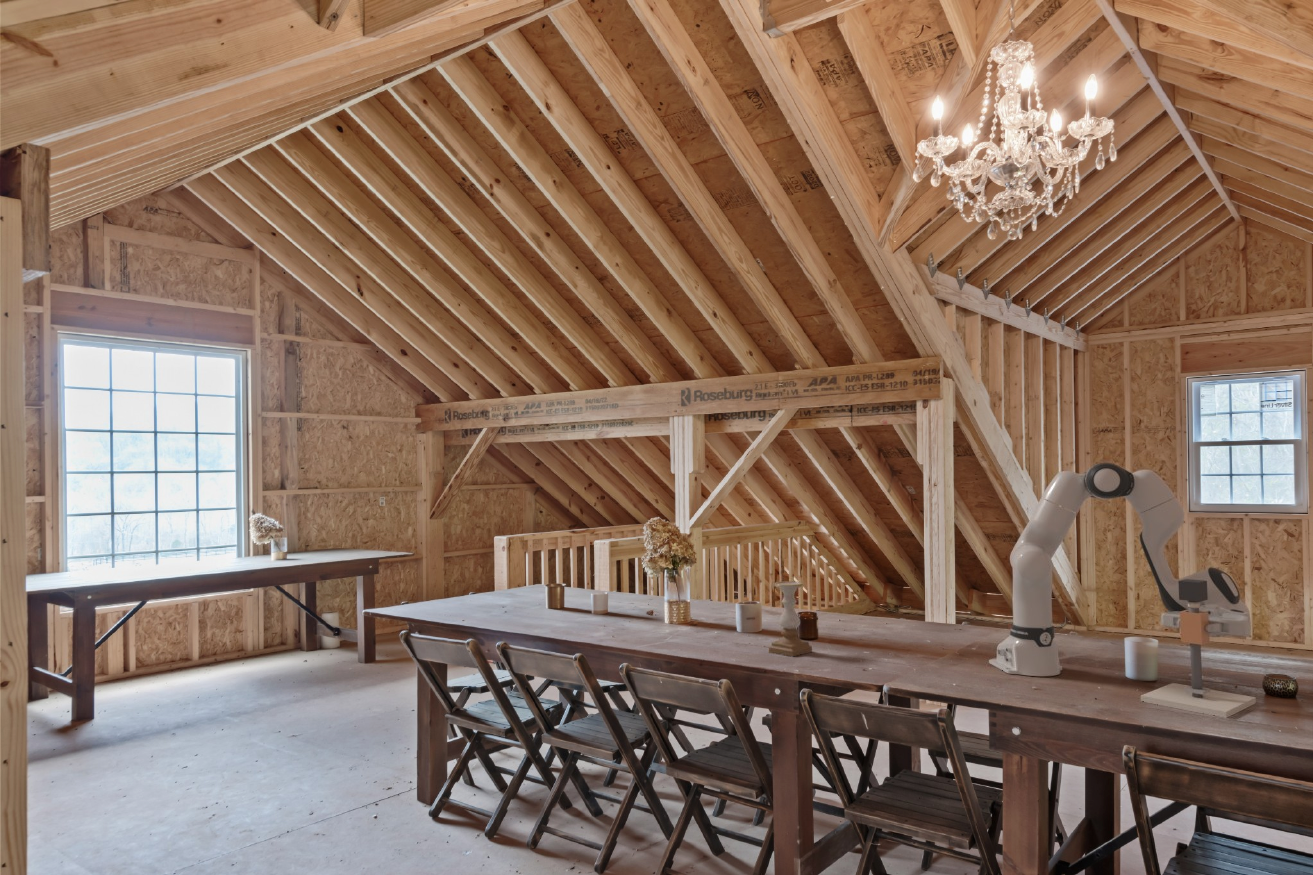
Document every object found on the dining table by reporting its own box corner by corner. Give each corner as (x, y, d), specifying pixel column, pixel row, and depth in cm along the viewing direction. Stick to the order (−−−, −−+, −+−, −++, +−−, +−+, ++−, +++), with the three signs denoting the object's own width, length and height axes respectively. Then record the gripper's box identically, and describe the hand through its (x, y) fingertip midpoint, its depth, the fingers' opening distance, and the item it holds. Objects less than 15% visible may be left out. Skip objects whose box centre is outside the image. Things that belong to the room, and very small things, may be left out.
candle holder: (793, 657, 286) (791, 586, 287) (768, 652, 294) (766, 583, 295) (812, 651, 294) (810, 582, 294) (787, 647, 302) (786, 580, 302)
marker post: (1140, 701, 226) (1135, 580, 227) (1172, 688, 238) (1168, 573, 239) (1226, 717, 210) (1220, 588, 211) (1255, 703, 222) (1250, 580, 223)
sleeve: (1180, 641, 225) (1179, 611, 225) (1188, 639, 228) (1187, 609, 228) (1201, 644, 221) (1200, 614, 221) (1209, 642, 224) (1208, 611, 224)
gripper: (1172, 604, 241) (1150, 610, 232) (1256, 613, 224) (1236, 619, 216) (1173, 626, 240) (1151, 633, 232) (1257, 637, 224) (1237, 644, 216)
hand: (1193, 626), depth 224 cm, fingers closed on sleeve, 5 cm apart
